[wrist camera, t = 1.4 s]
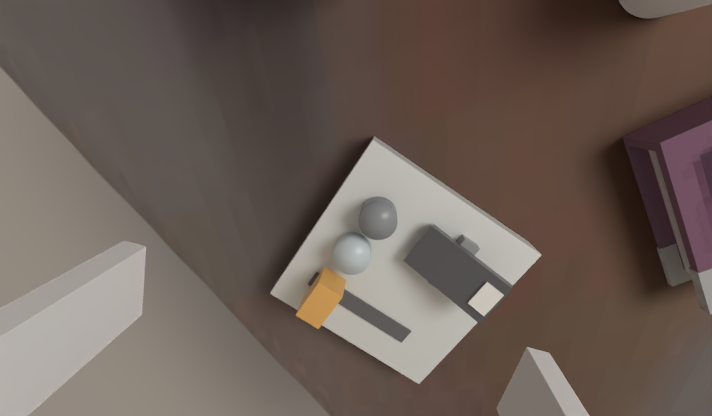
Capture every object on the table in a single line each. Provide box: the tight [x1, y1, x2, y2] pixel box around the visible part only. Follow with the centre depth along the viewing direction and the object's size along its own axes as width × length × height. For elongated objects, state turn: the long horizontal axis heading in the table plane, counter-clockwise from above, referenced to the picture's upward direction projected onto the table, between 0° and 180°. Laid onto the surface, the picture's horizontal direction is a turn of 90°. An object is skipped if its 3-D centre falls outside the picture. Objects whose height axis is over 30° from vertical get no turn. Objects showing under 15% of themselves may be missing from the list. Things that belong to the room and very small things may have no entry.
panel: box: [270, 136, 541, 384], centre depth 33 cm, size 18×18×4 cm
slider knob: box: [296, 267, 346, 329], centre depth 32 cm, size 2×4×3 cm, turn 147°
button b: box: [333, 232, 371, 275], centre depth 31 cm, size 3×3×2 cm
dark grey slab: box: [403, 224, 513, 324], centre depth 29 cm, size 8×4×1 cm, turn 57°
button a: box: [358, 197, 398, 240], centre depth 29 cm, size 3×3×2 cm
